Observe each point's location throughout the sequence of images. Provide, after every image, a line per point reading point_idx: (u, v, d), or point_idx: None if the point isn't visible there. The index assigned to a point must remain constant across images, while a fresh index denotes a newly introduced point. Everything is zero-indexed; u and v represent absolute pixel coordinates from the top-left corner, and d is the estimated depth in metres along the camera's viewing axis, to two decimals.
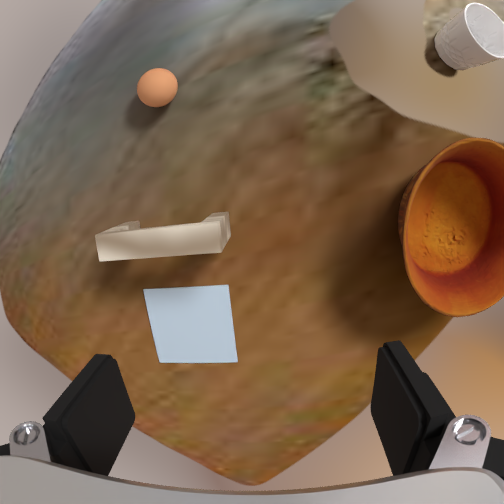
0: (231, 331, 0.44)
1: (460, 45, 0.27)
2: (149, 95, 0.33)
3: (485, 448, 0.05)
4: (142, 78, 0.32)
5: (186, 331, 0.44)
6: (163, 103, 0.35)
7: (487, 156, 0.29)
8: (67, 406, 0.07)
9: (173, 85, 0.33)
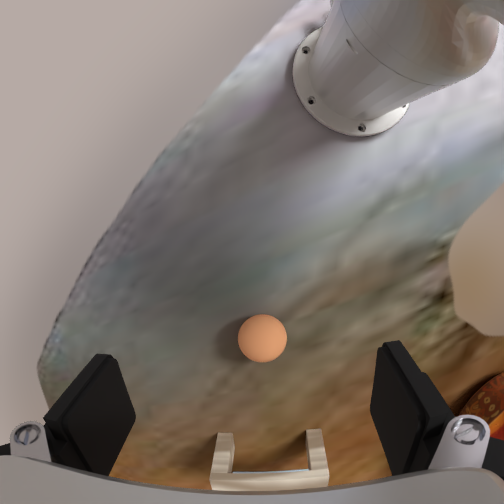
0: None
1: None
2: (259, 360, 0.31)
3: (484, 448, 0.05)
4: (249, 339, 0.31)
5: None
6: None
7: None
8: (67, 406, 0.07)
9: (285, 345, 0.32)
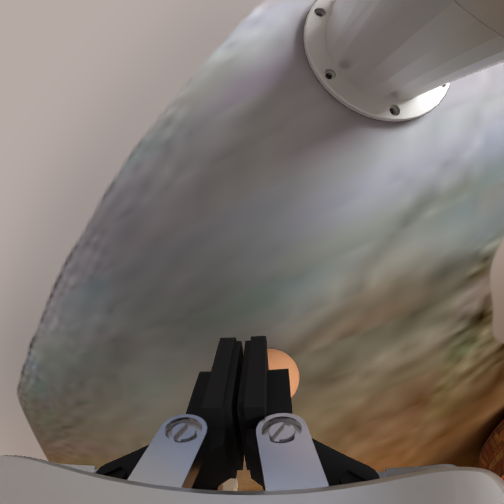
0: None
1: None
2: None
3: (309, 437, 0.06)
4: None
5: None
6: None
7: None
8: (224, 390, 0.08)
9: (297, 387, 0.24)
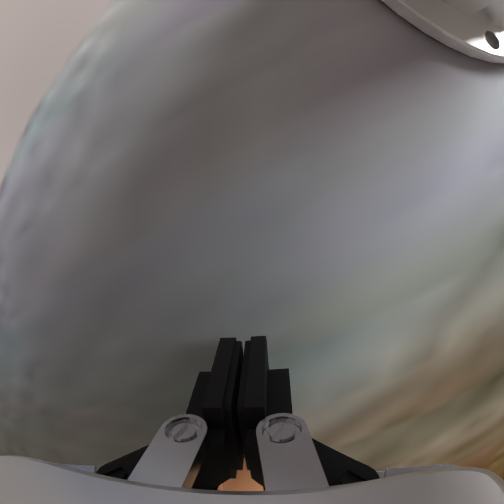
0: None
1: None
2: None
3: (308, 437, 0.06)
4: None
5: None
6: None
7: None
8: (224, 390, 0.08)
9: None
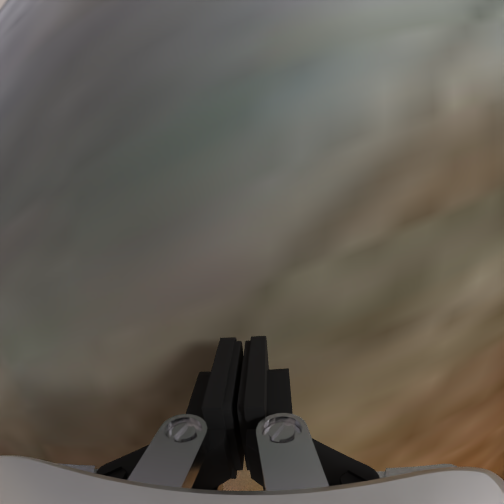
0: None
1: None
2: None
3: (309, 437, 0.06)
4: None
5: None
6: None
7: None
8: (224, 390, 0.08)
9: None
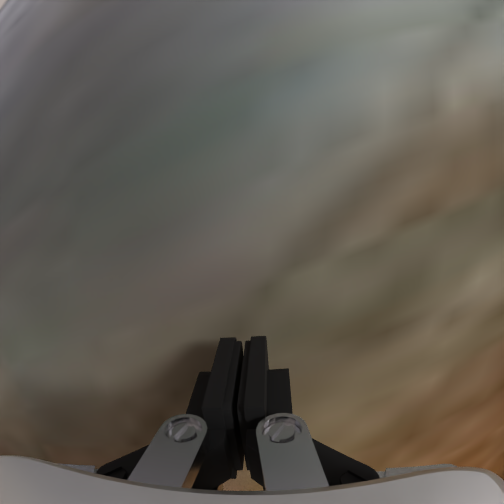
0: None
1: None
2: None
3: (309, 437, 0.06)
4: None
5: None
6: None
7: None
8: (224, 390, 0.08)
9: None
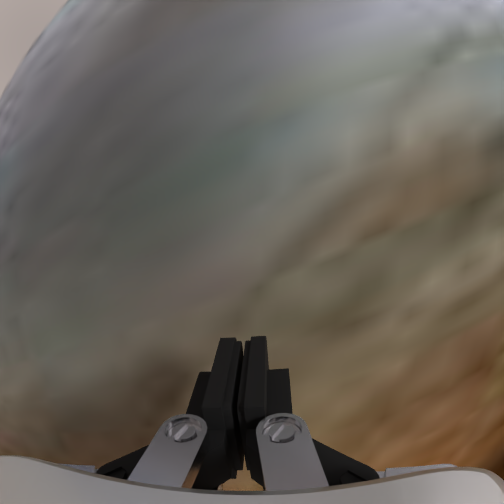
0: None
1: None
2: None
3: (309, 437, 0.06)
4: None
5: None
6: None
7: None
8: (224, 390, 0.08)
9: None
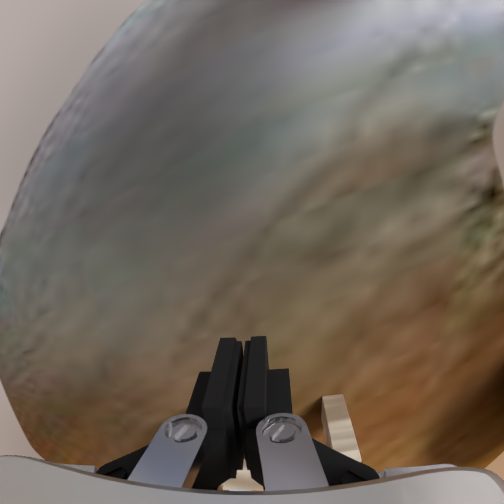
0: None
1: None
2: None
3: (309, 437, 0.06)
4: None
5: None
6: None
7: None
8: (224, 390, 0.08)
9: None
